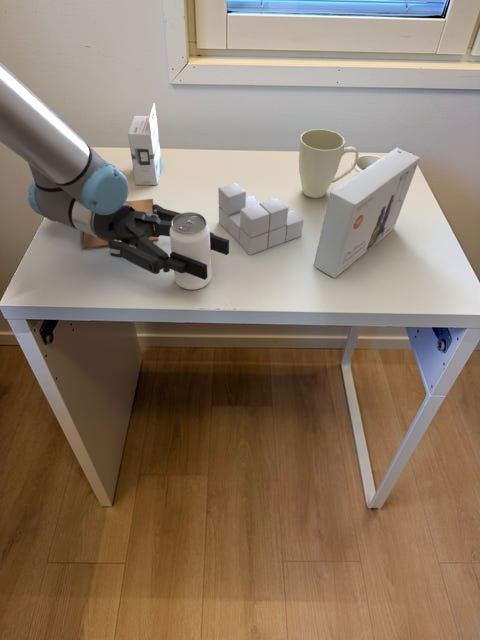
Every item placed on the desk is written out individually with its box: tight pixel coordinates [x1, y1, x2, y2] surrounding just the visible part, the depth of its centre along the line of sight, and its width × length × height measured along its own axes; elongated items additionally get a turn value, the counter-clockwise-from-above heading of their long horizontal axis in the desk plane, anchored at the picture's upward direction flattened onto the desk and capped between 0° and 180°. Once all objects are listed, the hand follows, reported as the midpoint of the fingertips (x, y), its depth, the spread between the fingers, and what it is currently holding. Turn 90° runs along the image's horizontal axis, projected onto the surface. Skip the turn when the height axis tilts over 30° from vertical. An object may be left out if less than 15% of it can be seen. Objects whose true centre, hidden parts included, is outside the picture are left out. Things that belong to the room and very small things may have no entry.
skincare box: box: [313, 147, 421, 279], centre depth 84 cm, size 21×5×16 cm, turn 137°
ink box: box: [127, 102, 163, 186], centre depth 100 cm, size 9×5×15 cm, turn 179°
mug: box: [298, 128, 359, 199], centre depth 98 cm, size 11×10×12 cm
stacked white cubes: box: [217, 182, 305, 256], centre depth 90 cm, size 12×12×8 cm
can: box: [169, 211, 212, 291], centre depth 78 cm, size 6×6×12 cm
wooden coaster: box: [83, 198, 160, 249], centre depth 93 cm, size 14×14×1 cm
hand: (217, 259), depth 76 cm, fingers closed on can, 6 cm apart
